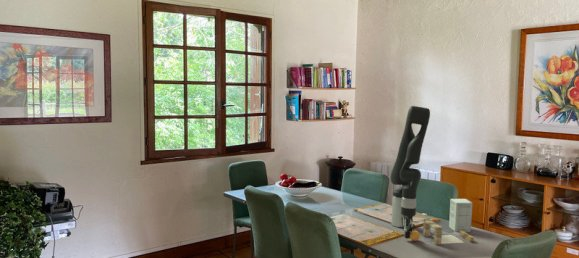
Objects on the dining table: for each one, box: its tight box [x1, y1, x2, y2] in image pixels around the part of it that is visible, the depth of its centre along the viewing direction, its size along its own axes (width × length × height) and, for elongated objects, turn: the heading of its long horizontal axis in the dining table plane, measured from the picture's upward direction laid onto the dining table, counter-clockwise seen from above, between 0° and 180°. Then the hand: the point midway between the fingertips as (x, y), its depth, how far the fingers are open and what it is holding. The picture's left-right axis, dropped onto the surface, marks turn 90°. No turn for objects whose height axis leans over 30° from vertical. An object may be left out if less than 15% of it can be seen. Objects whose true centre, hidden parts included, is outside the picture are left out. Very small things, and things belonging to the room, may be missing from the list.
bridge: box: [422, 218, 443, 246], centre depth 240 cm, size 14×3×9 cm, turn 10°
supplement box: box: [448, 198, 473, 233], centre depth 259 cm, size 10×9×17 cm
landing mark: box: [431, 234, 465, 245], centre depth 242 cm, size 12×12×1 cm
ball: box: [409, 229, 421, 242], centre depth 238 cm, size 6×6×6 cm
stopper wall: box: [458, 231, 475, 243], centre depth 244 cm, size 11×2×2 cm, turn 10°
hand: (406, 238), depth 238 cm, fingers closed
